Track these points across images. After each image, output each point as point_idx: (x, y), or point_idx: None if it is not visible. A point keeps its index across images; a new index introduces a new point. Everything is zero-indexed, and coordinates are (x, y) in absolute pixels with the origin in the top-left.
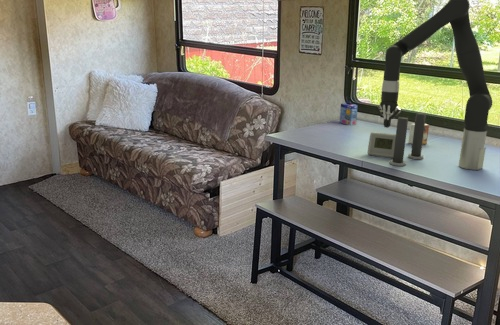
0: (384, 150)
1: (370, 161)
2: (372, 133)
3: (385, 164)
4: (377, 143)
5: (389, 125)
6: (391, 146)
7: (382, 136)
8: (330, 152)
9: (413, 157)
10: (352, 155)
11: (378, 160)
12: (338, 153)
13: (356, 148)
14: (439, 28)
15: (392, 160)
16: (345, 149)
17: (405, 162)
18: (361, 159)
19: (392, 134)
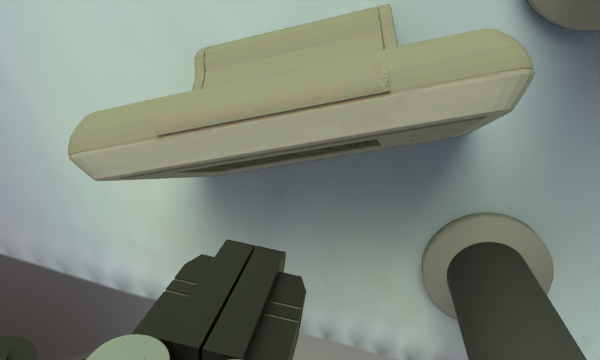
0: (319, 158)
1: None
2: (100, 180)
3: (407, 315)
4: (226, 166)
5: (300, 322)
6: (374, 143)
7: (234, 162)
8: (10, 254)
9: (592, 30)
10: (140, 239)
11: (331, 254)
12: (54, 247)
13: (36, 25)
14: None
15: (439, 263)
16: (10, 119)
17: (549, 258)
18: None
19: (339, 100)
